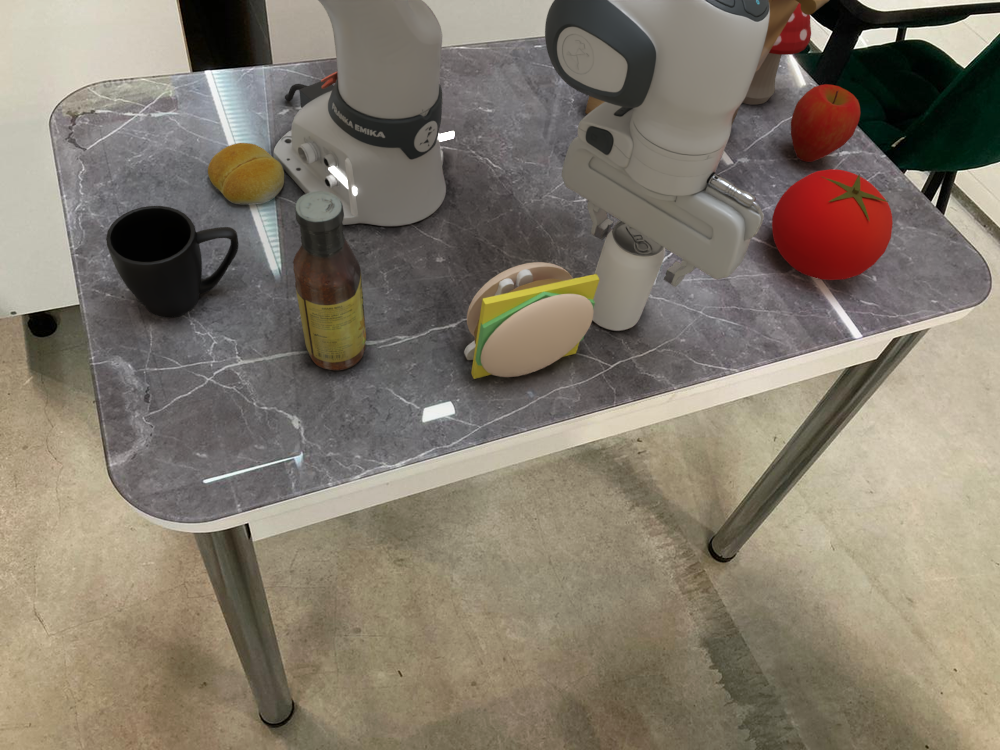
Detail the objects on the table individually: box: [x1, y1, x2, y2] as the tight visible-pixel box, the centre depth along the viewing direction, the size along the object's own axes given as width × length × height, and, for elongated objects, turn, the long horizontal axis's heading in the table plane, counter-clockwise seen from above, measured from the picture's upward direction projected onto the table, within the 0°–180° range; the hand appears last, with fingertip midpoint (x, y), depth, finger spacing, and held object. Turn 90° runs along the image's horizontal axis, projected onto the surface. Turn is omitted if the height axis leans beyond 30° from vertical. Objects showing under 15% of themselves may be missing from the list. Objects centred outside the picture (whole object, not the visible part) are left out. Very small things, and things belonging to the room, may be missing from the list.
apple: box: [790, 83, 861, 163], centre depth 109 cm, size 9×8×11 cm
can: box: [592, 220, 666, 332], centre depth 87 cm, size 6×6×12 cm
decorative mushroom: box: [741, 3, 812, 105], centre depth 115 cm, size 10×9×15 cm
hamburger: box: [463, 261, 600, 380], centre depth 82 cm, size 12×8×12 cm
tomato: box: [771, 168, 894, 281], centre depth 96 cm, size 13×14×12 cm
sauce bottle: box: [292, 191, 367, 372], centre depth 76 cm, size 7×6×20 cm
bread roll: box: [207, 142, 285, 205], centre depth 95 cm, size 8×9×4 cm
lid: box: [755, 0, 830, 72], centre depth 95 cm, size 18×13×5 cm
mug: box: [105, 205, 239, 319], centre depth 82 cm, size 8×12×10 cm
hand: (635, 257), depth 84 cm, fingers open, 8 cm apart
